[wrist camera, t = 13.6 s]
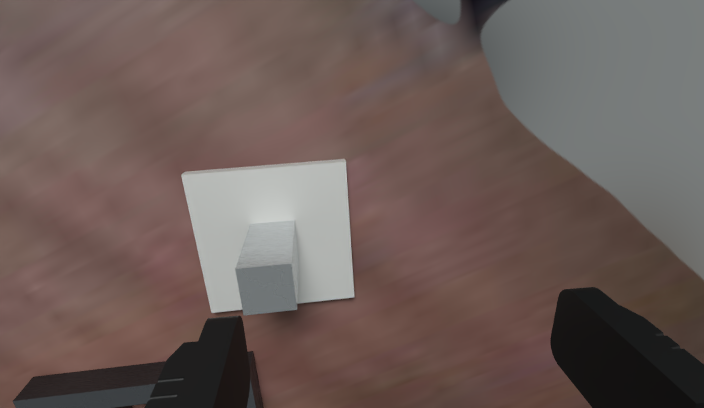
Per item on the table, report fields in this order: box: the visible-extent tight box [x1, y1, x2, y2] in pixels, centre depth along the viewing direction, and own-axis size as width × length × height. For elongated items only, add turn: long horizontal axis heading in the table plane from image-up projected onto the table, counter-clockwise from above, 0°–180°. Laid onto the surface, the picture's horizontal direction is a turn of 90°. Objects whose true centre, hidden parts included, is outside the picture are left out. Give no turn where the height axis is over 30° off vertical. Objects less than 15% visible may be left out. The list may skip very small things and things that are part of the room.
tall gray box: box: [235, 220, 299, 315], centre depth 33 cm, size 4×4×8 cm
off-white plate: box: [181, 159, 354, 313], centre depth 37 cm, size 14×14×1 cm
